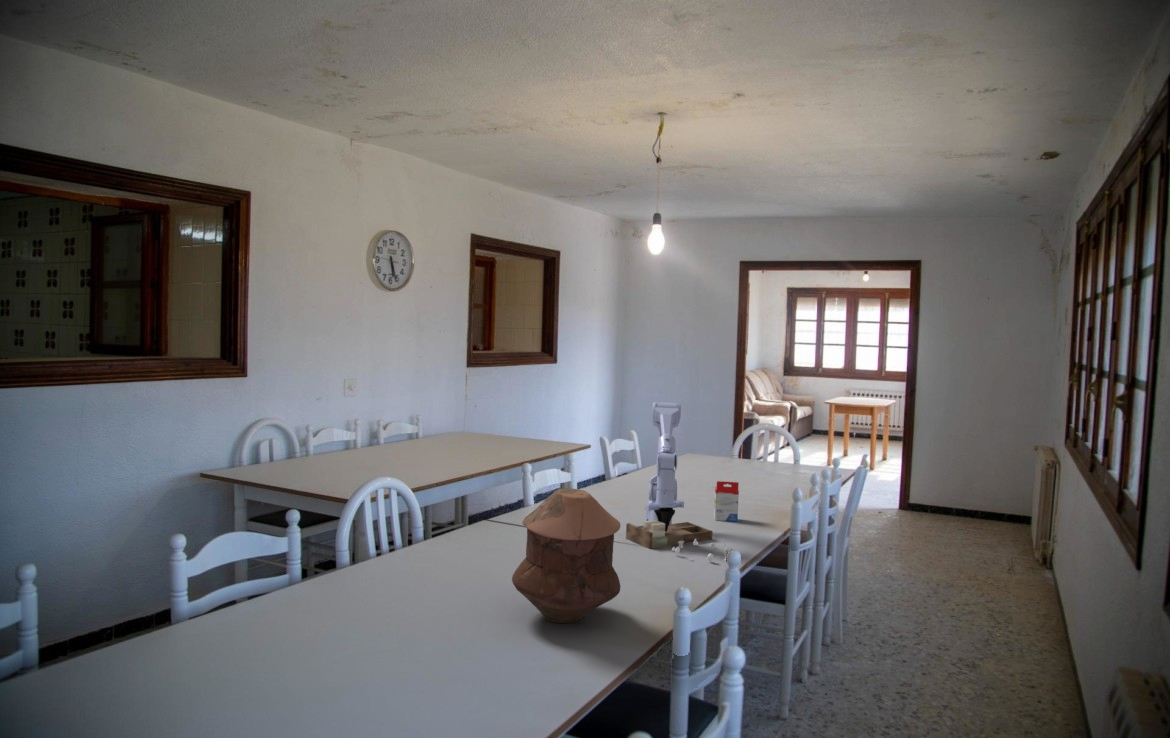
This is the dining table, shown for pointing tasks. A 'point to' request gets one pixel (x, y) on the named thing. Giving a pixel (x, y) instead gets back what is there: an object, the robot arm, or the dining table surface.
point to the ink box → (726, 501)
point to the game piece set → (695, 542)
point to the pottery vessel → (568, 556)
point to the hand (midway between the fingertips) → (663, 530)
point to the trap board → (668, 535)
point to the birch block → (655, 528)
